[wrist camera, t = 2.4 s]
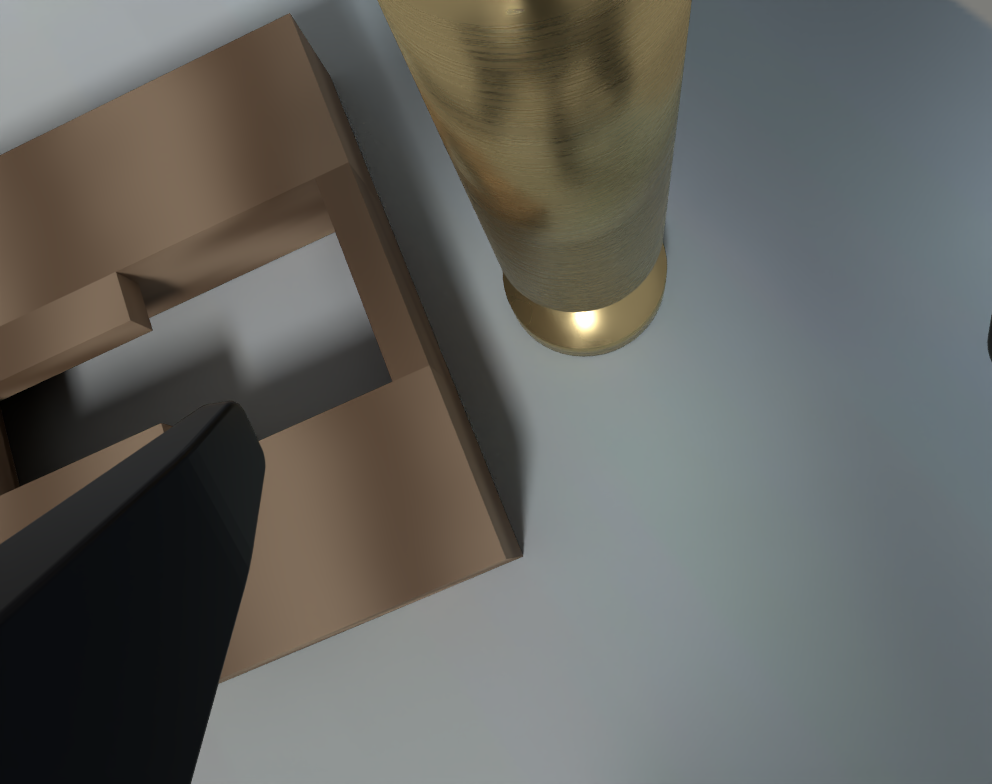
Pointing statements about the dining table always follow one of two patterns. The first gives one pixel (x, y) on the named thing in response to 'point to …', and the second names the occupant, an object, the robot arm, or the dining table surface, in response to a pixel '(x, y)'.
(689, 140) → the dining table surface
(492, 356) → the dining table surface
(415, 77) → the peg
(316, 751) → the dining table surface
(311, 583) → the keyhole board
